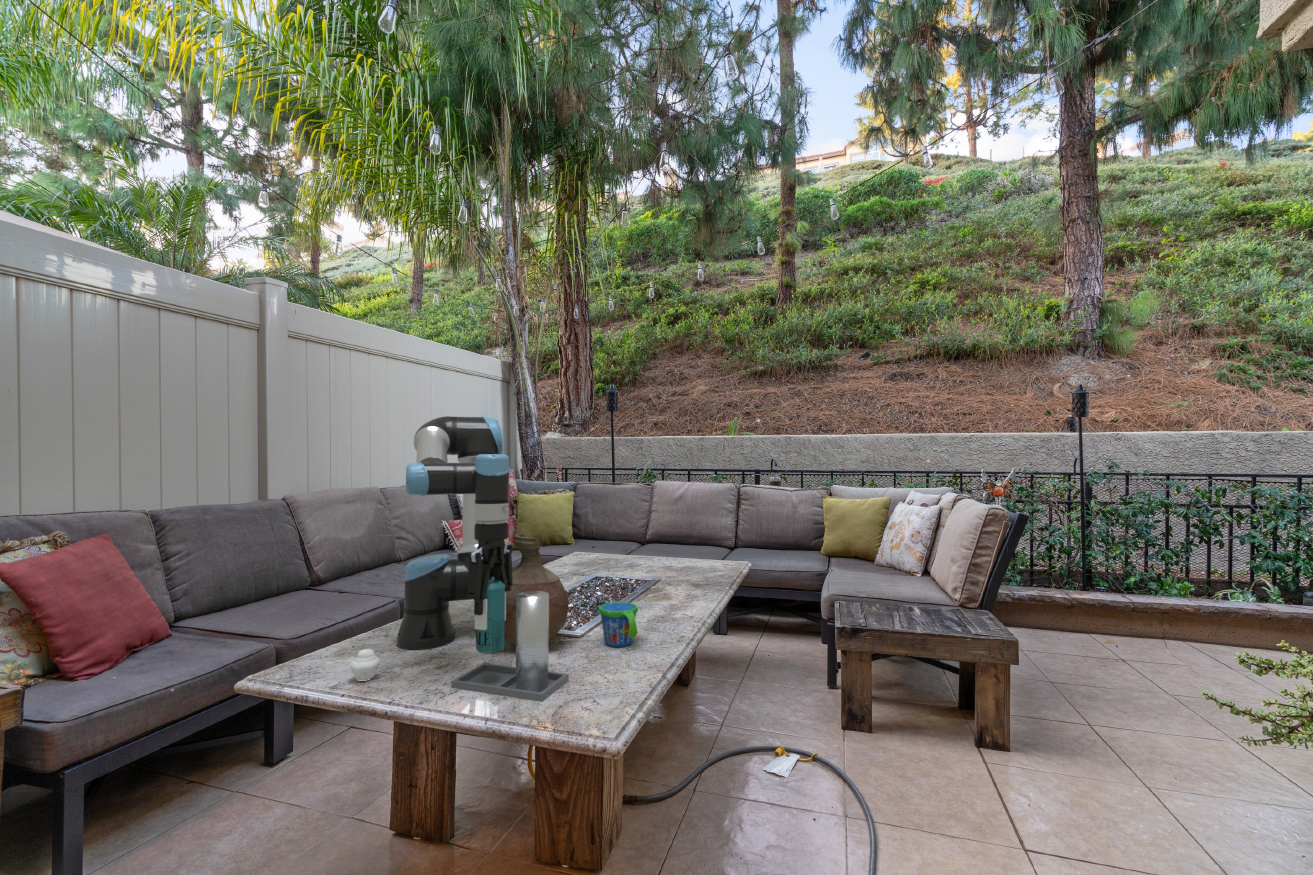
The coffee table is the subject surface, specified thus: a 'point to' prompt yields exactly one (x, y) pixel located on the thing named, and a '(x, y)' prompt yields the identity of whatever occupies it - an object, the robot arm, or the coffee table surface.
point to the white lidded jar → (365, 665)
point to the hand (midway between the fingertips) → (490, 624)
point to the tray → (504, 682)
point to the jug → (534, 587)
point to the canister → (532, 640)
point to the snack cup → (618, 623)
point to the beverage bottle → (493, 617)
